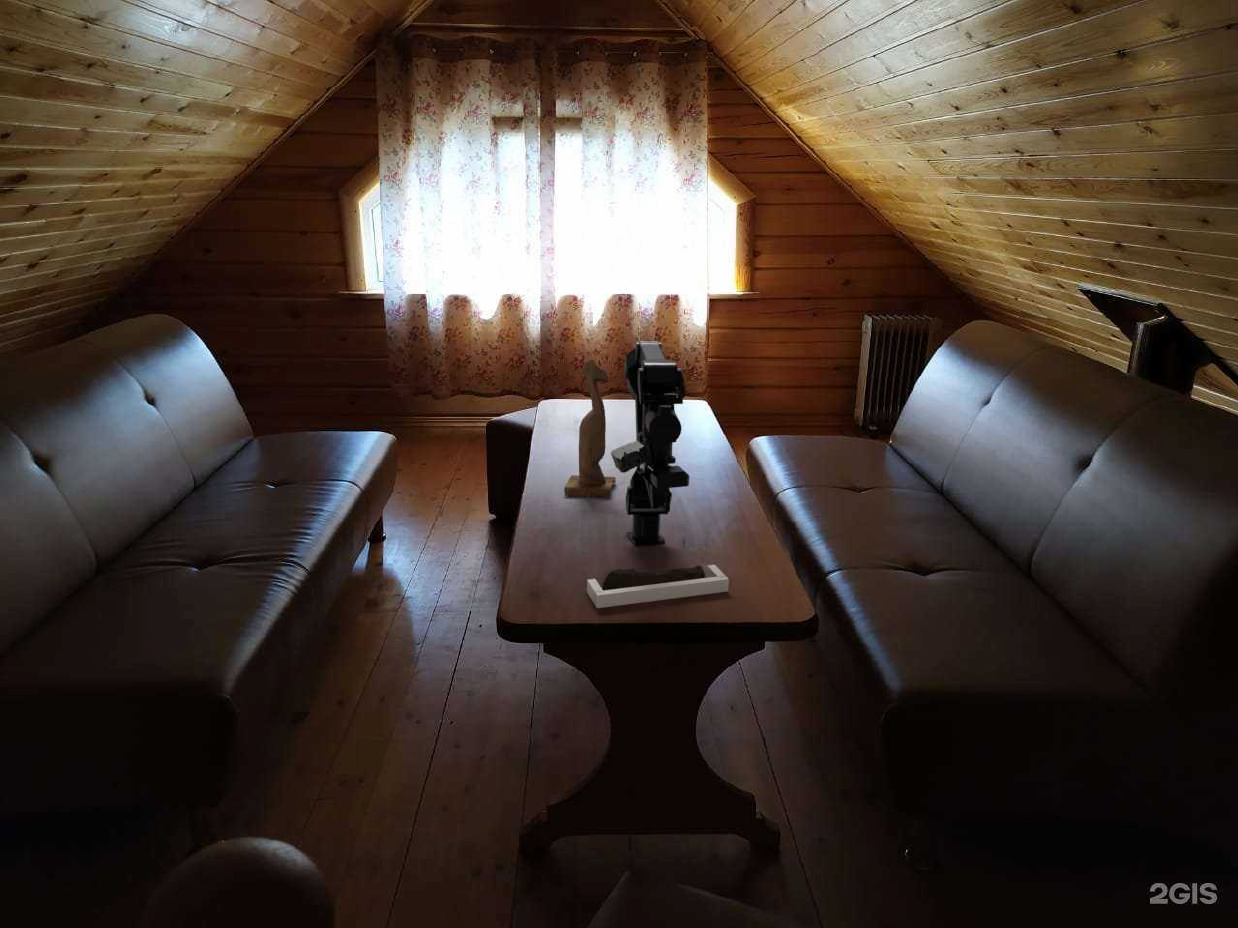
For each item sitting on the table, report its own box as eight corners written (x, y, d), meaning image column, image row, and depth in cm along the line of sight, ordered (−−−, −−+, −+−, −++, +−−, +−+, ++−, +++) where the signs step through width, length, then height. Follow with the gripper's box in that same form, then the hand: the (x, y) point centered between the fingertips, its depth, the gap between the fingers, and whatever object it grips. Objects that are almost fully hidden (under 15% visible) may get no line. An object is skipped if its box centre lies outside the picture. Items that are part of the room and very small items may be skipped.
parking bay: (587, 592, 160) (587, 579, 159) (713, 576, 167) (714, 564, 167) (597, 608, 154) (597, 595, 153) (728, 591, 162) (728, 578, 161)
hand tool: (699, 581, 166) (700, 559, 165) (705, 591, 162) (706, 567, 161) (600, 588, 162) (600, 565, 161) (604, 598, 159) (604, 574, 157)
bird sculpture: (613, 500, 207) (620, 366, 197) (563, 497, 207) (568, 363, 198) (615, 485, 218) (622, 357, 208) (568, 482, 218) (572, 354, 208)
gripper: (601, 419, 169) (600, 495, 174) (632, 446, 152) (630, 530, 157) (656, 415, 172) (653, 490, 177) (692, 442, 156) (688, 524, 160)
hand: (655, 508), depth 168 cm, fingers closed
